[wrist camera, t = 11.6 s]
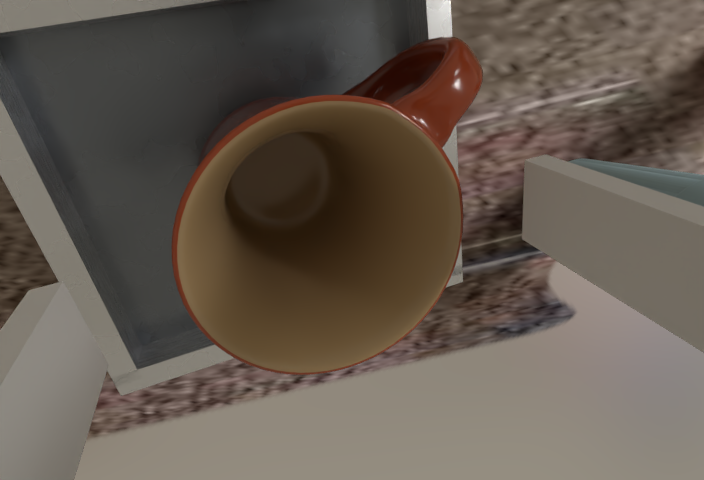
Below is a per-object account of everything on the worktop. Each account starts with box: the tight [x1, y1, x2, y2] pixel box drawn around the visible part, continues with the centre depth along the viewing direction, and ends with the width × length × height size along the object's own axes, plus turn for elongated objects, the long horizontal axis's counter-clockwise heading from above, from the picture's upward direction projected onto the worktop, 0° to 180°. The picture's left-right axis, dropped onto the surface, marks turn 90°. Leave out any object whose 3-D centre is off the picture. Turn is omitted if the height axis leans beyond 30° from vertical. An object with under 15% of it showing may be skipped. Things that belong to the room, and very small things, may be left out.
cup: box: [568, 158, 704, 207], centre depth 25 cm, size 8×8×10 cm
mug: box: [171, 36, 483, 375], centre depth 17 cm, size 12×9×10 cm
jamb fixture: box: [0, 0, 463, 396], centre depth 20 cm, size 20×21×4 cm
